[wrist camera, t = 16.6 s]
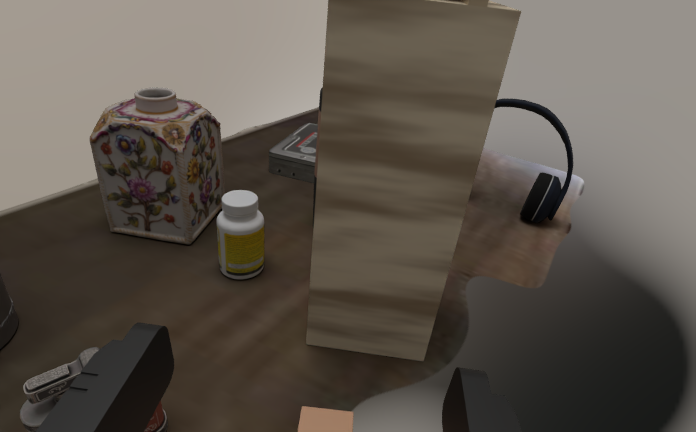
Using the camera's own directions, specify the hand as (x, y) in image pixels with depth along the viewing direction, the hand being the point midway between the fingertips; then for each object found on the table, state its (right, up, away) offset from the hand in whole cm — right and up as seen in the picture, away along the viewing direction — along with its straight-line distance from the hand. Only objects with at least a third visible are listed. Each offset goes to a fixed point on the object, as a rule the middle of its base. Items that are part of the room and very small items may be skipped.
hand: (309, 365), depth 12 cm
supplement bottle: (-12, -2, +41) cm, 43 cm away
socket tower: (+3, -7, +35) cm, 36 cm away
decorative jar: (-24, +4, +49) cm, 54 cm away
